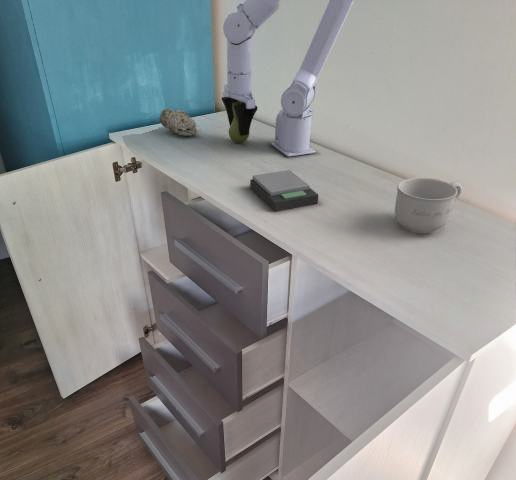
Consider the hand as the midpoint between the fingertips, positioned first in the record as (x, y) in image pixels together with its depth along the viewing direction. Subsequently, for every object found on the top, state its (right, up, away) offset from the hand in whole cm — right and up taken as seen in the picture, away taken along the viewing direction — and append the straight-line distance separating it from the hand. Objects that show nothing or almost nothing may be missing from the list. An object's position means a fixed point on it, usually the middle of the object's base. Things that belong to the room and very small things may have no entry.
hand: (239, 130), depth 129 cm
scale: (+10, -23, -22) cm, 33 cm away
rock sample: (-15, +2, +6) cm, 17 cm away
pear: (0, -2, +2) cm, 3 cm away
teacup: (+38, -31, -30) cm, 57 cm away
